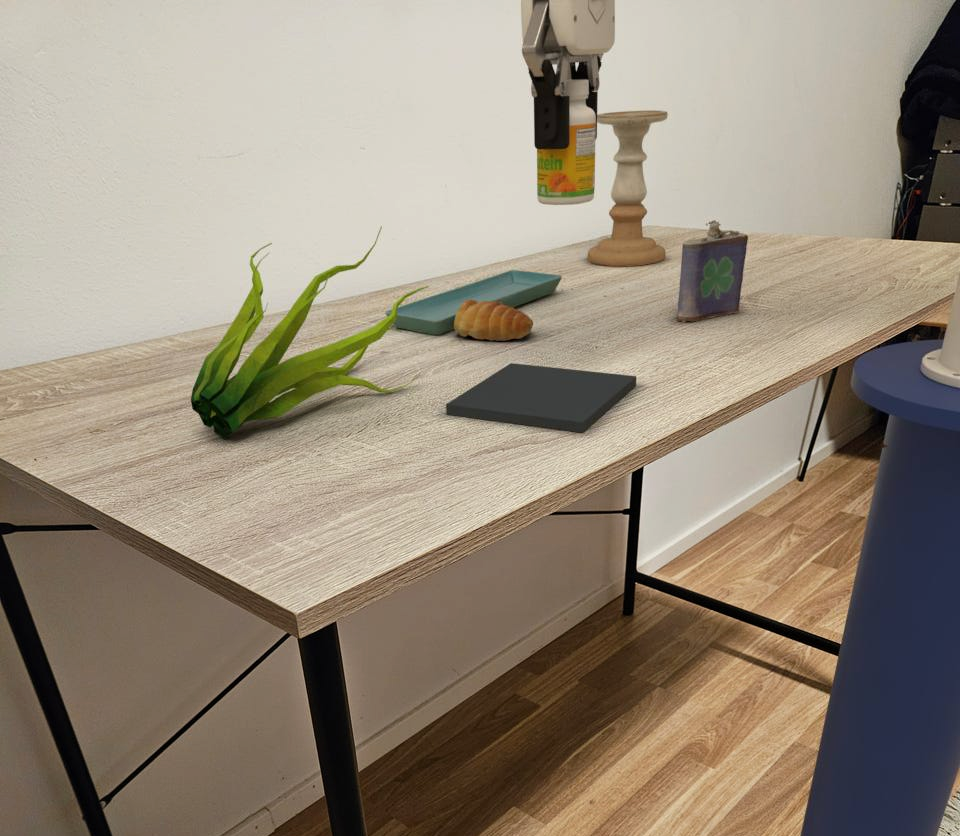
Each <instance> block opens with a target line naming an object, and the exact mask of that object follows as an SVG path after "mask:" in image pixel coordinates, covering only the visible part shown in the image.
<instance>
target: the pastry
mask: <svg viewBox="0 0 960 836" xmlns="http://www.w3.org/2000/svg"><path fill="white" fill-rule="evenodd" d="M533 327H534V321H533V320H532V318H531V317H530V316H529V315H527V314H526V313H524V312H523V311H522V310H519V309H516V308H515V307H513V308H512V307H509V306H506V305H503V304H502V303H501V302H490V301H484V302H477V301H475V300H471V299H469V300H466V301H464V302H463V303H462V304H461V306H460V307H459V308H458V310H457V313H456V316H455V321H454V330H455V332H457V334H459V336H461V337H462V338H463V337H464V338H467V336H471V337H472V338H473V339H477V340H485V339H486V340H489V341H490V342H492V341H496V342H498V341H501V342H506V341H510V340H511V339H522V338H523V337H526V336H527V335H528V334H530V333H532V329H533Z"/></svg>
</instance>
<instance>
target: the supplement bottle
mask: <svg viewBox="0 0 960 836" xmlns="http://www.w3.org/2000/svg"><path fill="white" fill-rule="evenodd" d="M588 94H589V81H588V80H584V79H582V80H567V81H566V89H565V94H564V96H570V112H569V146H568V148H566V149H536V187H537V188H536V195H537V201H538V202H539V203H540V204H542V205H550V206H569V205H581V204H585V203H590V202H591V201H593V200H594V198H595V189H596V188H595V187H596V185H595V184H596V183H595V182H596V140H595V137H596V116H595V113H594V111H593V110H592V109H591V108H589V107H587V106H586V99H587V98H588Z"/></svg>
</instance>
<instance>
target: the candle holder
mask: <svg viewBox="0 0 960 836" xmlns="http://www.w3.org/2000/svg"><path fill="white" fill-rule="evenodd" d="M668 116H669V115H668V111H666V110H660V109H659V110H657V109H654V110H651V109H650V110H645V109H644V110H625V111H612V112H611V111H610V112H602V113H597V124H599V125H605V126H607V125H609V126H611V127H612V131H613V134H614V135H615V137H617V140H618V150H617V152H616V153H615V154H614V155H613V161H614V162H615V163H616V164H617V165H616V171H615V177H614V181H613V183H612V186H611V189H610V190H611V191H610V197H611V200H612V201H613V202H614V203H615V204H614V205H612V207H611V208H610V209H609V211H608V215H609V217H610V218H611V220H612V221H613V223H612V229H611V237H608V238H604V239H602V240H600V241H599V242H598V243H597V245H596V246H593V247H591V248H590V249H588V251H587V259H588V260H587V261H589V262H590V263H593V264H595V265H600V266H610V267H636V266H645V265H651V264H656V263H659V262H661V261H663V260H664V259H665V257H666V255H667V254H666V253H667V252H666V248H665V247H664V246H662V245H661V244H657V243H656V240H655V239H653V238H652V237H646V236H644V234H643V219H644V218H645V216H647V214H648V210H647V208H646V207H645V205H644V204H642V202H643V201H644V200H645V199H646V197H647V193H648V190H647V185H646V181H645V177H644V167H643V166H644V165H643V163H644V162H645V161H646V160H647V158H648V155H647V153H645V151H644V149H643V141H644V138H645V136H646V135H647V134H648V133H649V131H650V128H651V126H652V124H655V123H660V122H664V121H666V120H667V119H668Z"/></svg>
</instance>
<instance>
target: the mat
mask: <svg viewBox="0 0 960 836" xmlns="http://www.w3.org/2000/svg"><path fill="white" fill-rule="evenodd" d="M635 387H637V375H630V374H629V375H628V374H620V373H611V372H610V373H608V372H602V371H601V372H600V371H592V370H591V371H589V370H583V369H581V370H580V369H572V368H571V369H570V368H563V367H561V368H560V367H552V366H542V365H534V364H524V363H523V364H522V363H514V362H511V363H508V364H507V365H505V366H504V367H502V368H501V369H499V370H497V371H495V372H494V373H493V374H491V375H489V376H487V378H485V379H483V380H482V381H480V382H478V383H477V384H476V385H474V386H472V387H471V388H469V389H468V390H466V391H464V392H462V393H461V394H460V395H458V396H457V397H455V398H453V399H452V400H450V401H449V402H447V403H446V404H445V409H446V410H445V411H446V412H445V413H446V415H448V416H454V417H455V416H457V417H464V418H472V419H479V420H485V421H493V422H500V423H507V424H508V423H509V424H515V425H523V426H529V427H530V426H531V427H538V428H544V429H553V430H560V431H566V432H575V433H581V434H583V433H584V432H586V430H588V429H589V428H590V427H591V426H592V425H594V424H595V423H596V422H597V421H598V420H599V419H600V418H601V417H603V415H605V414H606V413H607V412H608V411H610V410H611V409H612V408H613V407H614V406H615V405H616V404H617V403H618V402H619V401H621V400H622V399H623V398H624V397H625V396H626V395H628V394H629V393H630V392H631V391H632V390H633V389H635Z"/></svg>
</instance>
